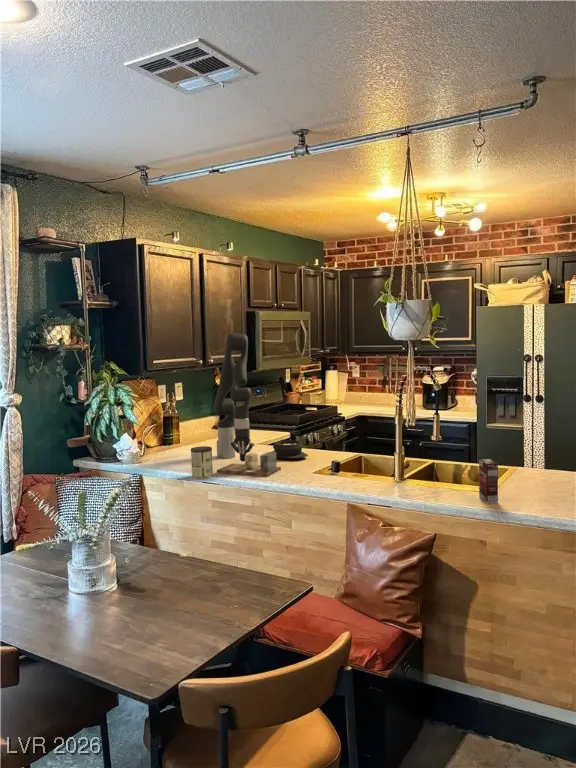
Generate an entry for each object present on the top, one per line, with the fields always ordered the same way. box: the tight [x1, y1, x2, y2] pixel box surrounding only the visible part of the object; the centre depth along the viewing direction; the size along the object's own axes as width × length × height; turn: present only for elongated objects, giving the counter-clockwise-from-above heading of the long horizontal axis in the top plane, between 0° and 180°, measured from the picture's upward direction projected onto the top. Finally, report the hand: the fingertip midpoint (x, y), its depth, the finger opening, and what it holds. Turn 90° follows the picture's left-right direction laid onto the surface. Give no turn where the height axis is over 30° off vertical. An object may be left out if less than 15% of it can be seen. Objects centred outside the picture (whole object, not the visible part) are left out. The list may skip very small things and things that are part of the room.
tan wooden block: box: [244, 452, 259, 470], centre depth 307 cm, size 4×10×7 cm, turn 156°
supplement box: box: [478, 458, 499, 504], centre depth 246 cm, size 9×5×16 cm, turn 3°
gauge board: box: [216, 451, 282, 478], centre depth 310 cm, size 28×16×10 cm, turn 66°
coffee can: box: [190, 445, 214, 480], centre depth 301 cm, size 10×10×14 cm
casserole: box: [271, 439, 309, 460], centre depth 342 cm, size 25×19×8 cm
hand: (243, 461), depth 311 cm, fingers closed
